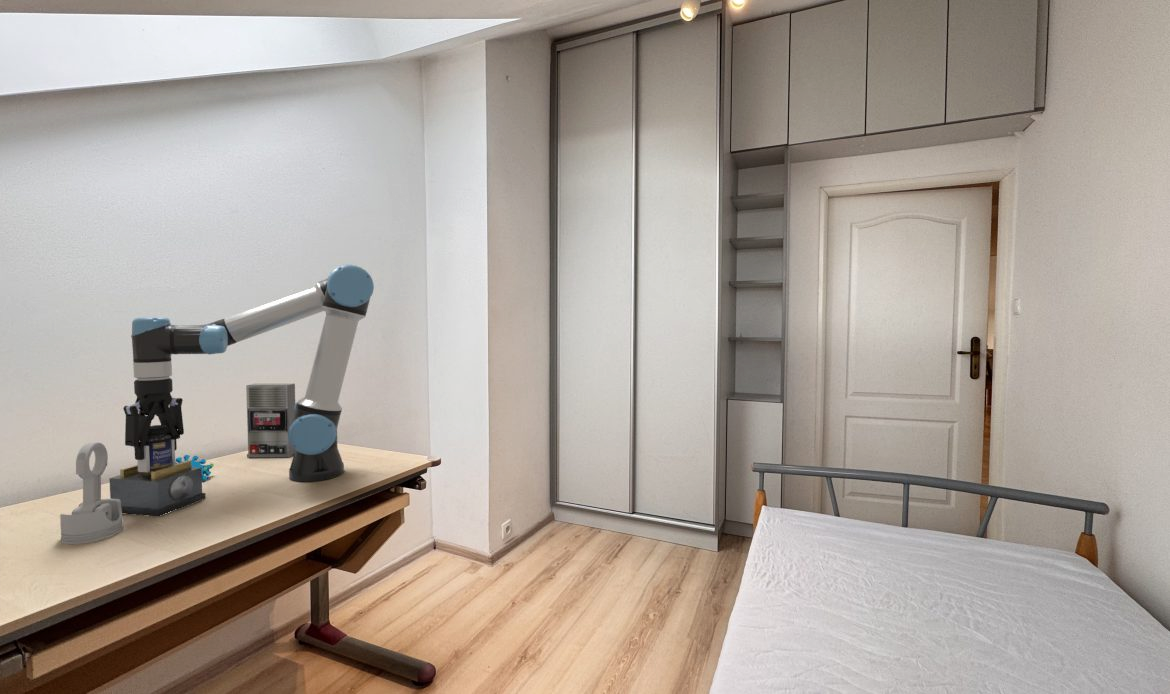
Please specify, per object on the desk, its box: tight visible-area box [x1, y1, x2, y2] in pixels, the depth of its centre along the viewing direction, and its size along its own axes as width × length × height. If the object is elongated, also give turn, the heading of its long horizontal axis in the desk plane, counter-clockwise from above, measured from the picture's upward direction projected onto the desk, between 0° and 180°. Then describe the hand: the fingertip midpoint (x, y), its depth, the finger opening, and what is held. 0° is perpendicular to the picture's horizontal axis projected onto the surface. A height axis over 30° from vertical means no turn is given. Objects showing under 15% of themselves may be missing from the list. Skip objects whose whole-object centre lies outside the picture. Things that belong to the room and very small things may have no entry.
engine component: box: [59, 442, 124, 545], centre depth 117 cm, size 11×20×10 cm
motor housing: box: [108, 460, 207, 517], centre depth 135 cm, size 15×13×10 cm
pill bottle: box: [145, 424, 172, 472], centre depth 134 cm, size 6×6×11 cm
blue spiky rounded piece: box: [173, 454, 215, 482], centre depth 155 cm, size 11×6×10 cm
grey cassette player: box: [245, 382, 296, 458], centre depth 182 cm, size 14×6×25 cm, turn 95°
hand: (157, 467), depth 134 cm, fingers closed on pill bottle, 6 cm apart
